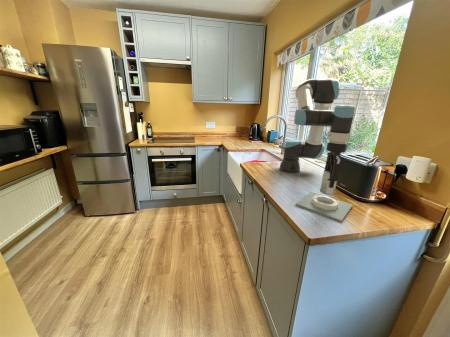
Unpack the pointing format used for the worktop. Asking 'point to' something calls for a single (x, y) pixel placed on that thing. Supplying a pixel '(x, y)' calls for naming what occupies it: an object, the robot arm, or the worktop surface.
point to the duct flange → (325, 206)
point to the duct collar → (326, 182)
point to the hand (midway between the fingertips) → (327, 190)
